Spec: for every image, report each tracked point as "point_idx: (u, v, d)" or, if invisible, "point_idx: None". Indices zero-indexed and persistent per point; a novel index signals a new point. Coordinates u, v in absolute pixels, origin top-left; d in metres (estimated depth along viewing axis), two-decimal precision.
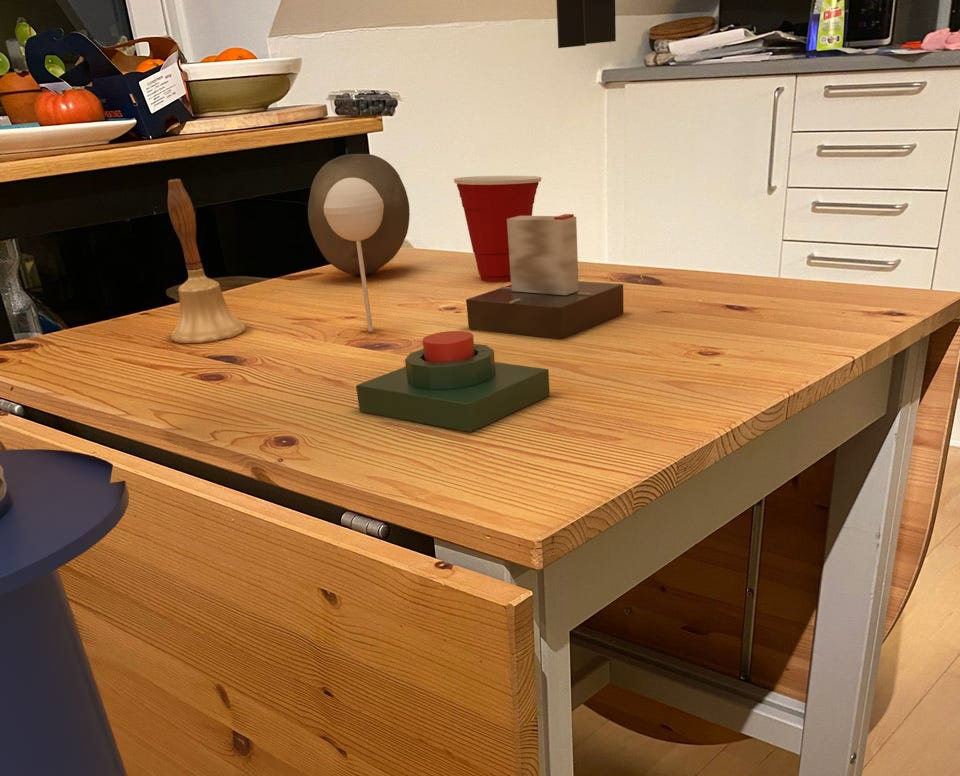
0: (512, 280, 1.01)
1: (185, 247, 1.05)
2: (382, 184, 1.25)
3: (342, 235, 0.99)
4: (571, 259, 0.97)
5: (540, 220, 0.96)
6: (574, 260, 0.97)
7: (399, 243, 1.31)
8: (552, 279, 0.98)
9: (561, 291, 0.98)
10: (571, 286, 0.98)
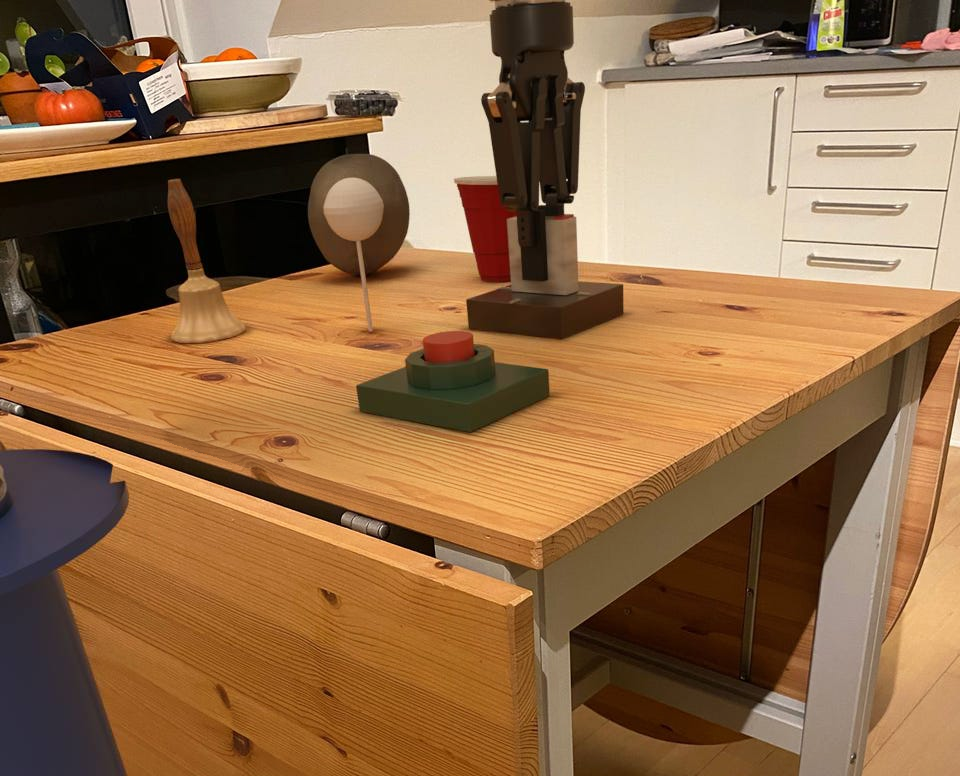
0: (512, 280, 1.01)
1: (185, 247, 1.05)
2: (382, 184, 1.25)
3: (342, 235, 0.99)
4: (571, 259, 0.97)
5: None
6: (574, 260, 0.97)
7: (399, 243, 1.31)
8: (552, 279, 0.98)
9: (561, 291, 0.98)
10: (571, 286, 0.98)
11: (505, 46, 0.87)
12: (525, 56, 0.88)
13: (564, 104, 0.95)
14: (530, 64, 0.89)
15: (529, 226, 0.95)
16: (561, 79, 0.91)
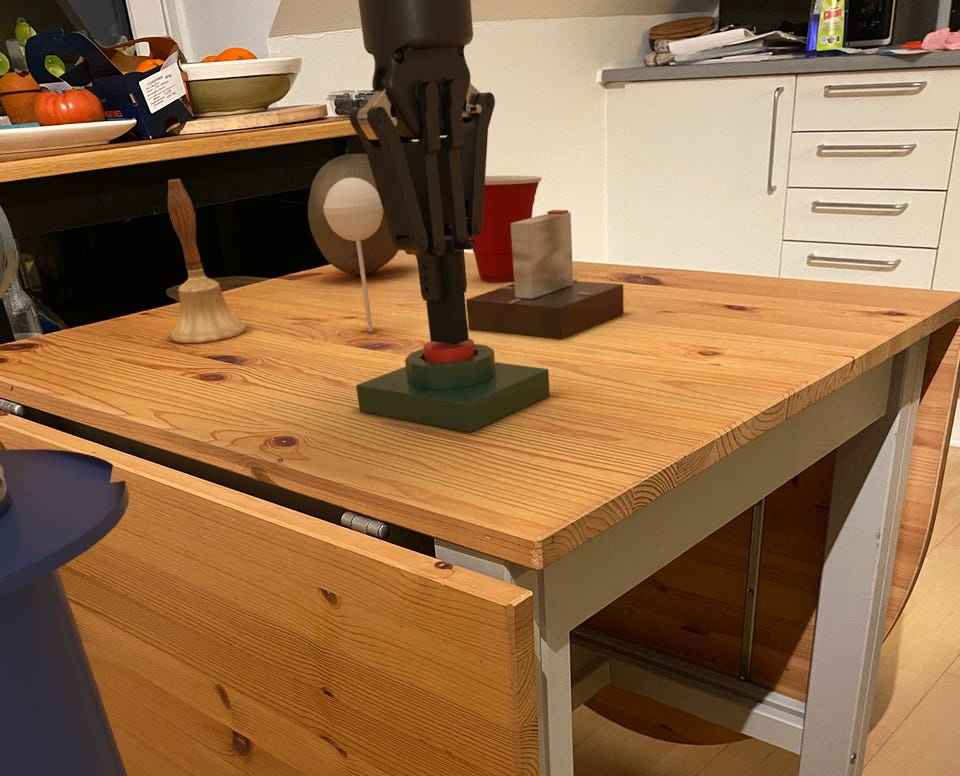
0: (533, 287, 0.97)
1: (185, 247, 1.05)
2: None
3: (342, 235, 0.99)
4: None
5: (553, 217, 0.97)
6: None
7: None
8: (563, 272, 1.00)
9: (570, 282, 1.02)
10: None
11: (377, 40, 0.65)
12: (403, 53, 0.65)
13: (466, 119, 0.72)
14: (412, 62, 0.66)
15: (433, 275, 0.73)
16: (459, 84, 0.68)
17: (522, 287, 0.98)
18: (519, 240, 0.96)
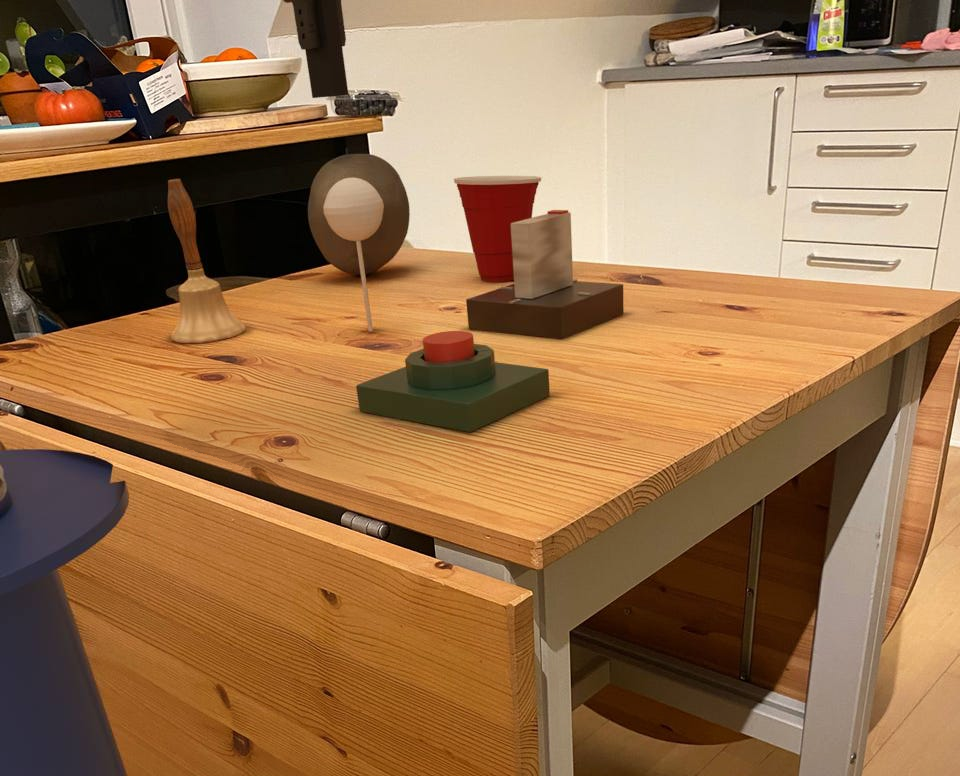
0: (533, 287, 0.97)
1: (185, 247, 1.05)
2: (382, 184, 1.25)
3: (342, 235, 0.99)
4: None
5: (553, 217, 0.97)
6: None
7: (399, 243, 1.31)
8: (563, 272, 1.00)
9: (570, 282, 1.02)
10: None
11: None
12: None
13: None
14: None
15: (308, 19, 0.75)
16: None
17: (522, 287, 0.98)
18: (519, 240, 0.96)
